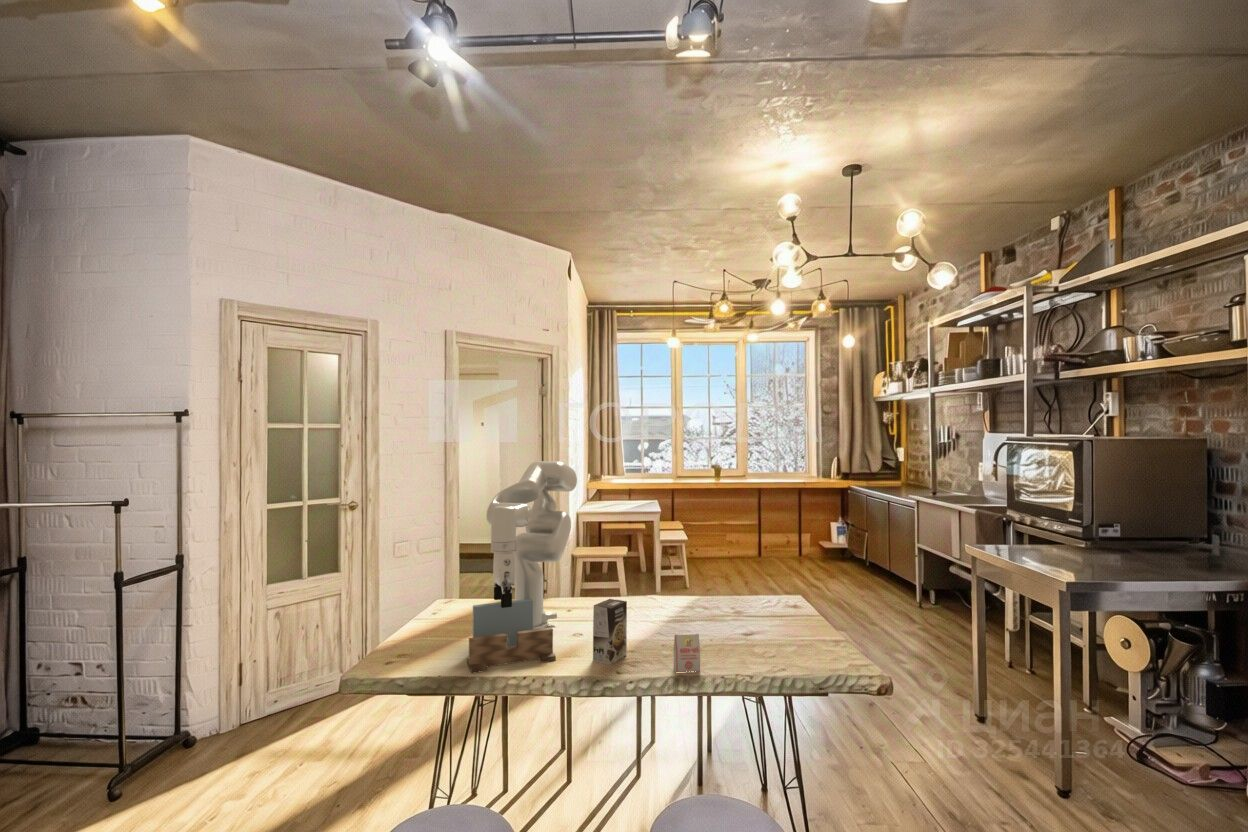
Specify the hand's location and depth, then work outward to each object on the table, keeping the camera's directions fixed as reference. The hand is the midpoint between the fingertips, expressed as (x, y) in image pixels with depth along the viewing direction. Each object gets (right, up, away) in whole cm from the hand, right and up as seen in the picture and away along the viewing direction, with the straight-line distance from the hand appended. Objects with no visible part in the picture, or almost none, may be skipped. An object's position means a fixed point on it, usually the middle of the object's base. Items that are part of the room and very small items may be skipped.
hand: (502, 603), depth 186 cm
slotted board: (+5, -14, -10) cm, 18 cm away
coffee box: (+33, -14, -7) cm, 36 cm away
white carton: (+54, -14, -16) cm, 58 cm away
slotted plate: (0, -14, 0) cm, 14 cm away
